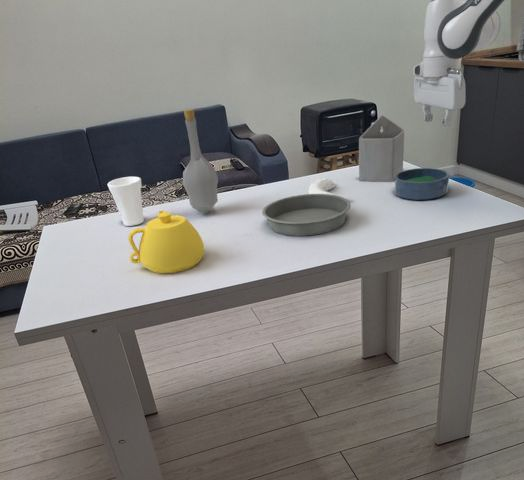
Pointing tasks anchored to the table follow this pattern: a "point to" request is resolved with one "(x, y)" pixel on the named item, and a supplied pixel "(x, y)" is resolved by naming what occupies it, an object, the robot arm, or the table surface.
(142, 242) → the teapot
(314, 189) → the white rounded piece
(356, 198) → the table surface
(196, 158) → the bottle
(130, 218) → the cup
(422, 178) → the sponge
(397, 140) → the planter
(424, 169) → the bowl
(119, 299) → the table surface
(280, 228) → the cake pan
